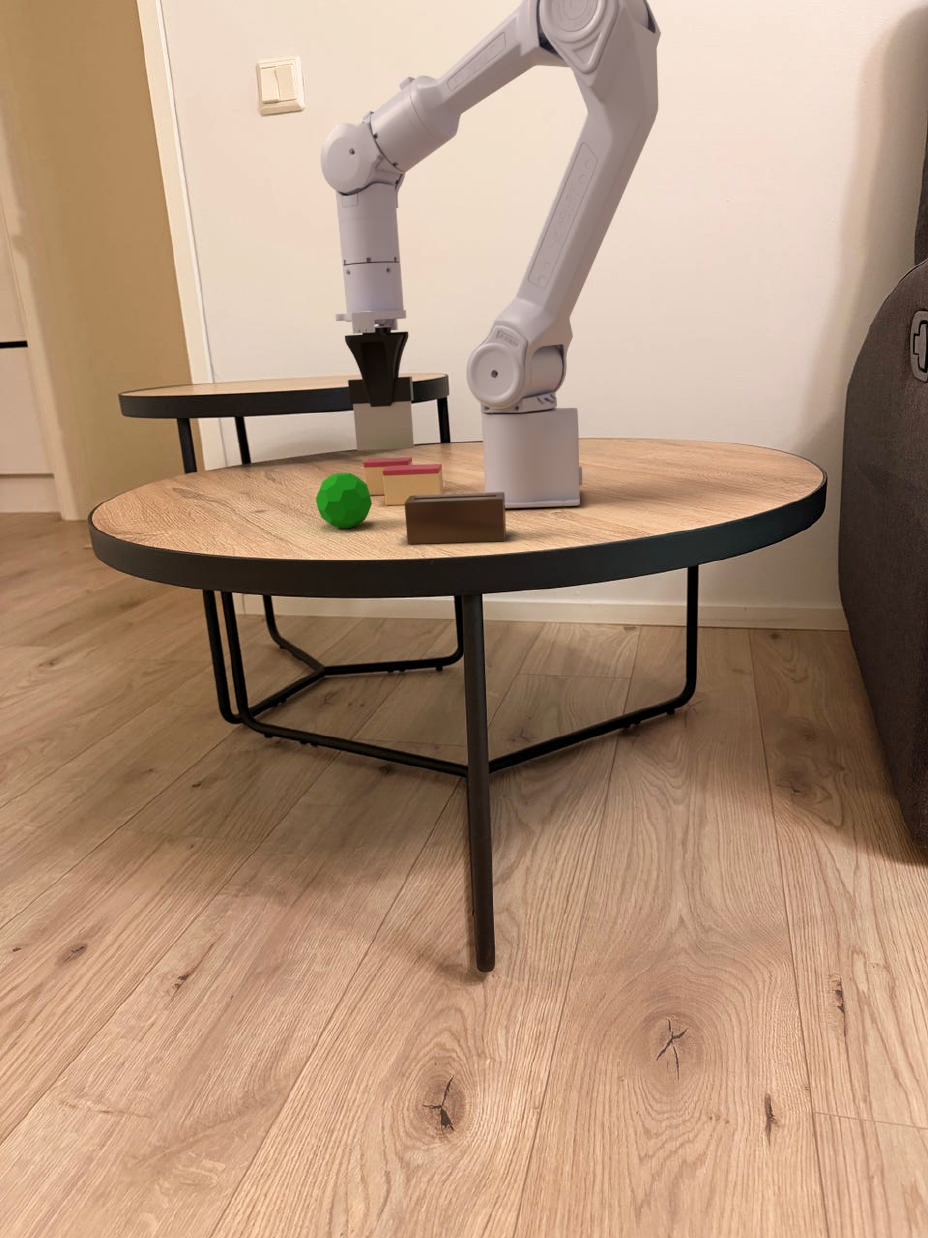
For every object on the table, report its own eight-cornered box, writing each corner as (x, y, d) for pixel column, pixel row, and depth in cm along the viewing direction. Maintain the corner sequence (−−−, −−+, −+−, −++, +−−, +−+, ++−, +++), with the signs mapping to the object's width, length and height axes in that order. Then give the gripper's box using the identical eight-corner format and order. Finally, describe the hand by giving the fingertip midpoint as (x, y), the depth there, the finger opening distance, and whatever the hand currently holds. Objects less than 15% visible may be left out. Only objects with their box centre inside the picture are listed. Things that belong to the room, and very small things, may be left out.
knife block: (506, 532, 78) (504, 491, 77) (504, 541, 75) (502, 498, 74) (412, 535, 78) (409, 495, 77) (407, 544, 76) (404, 502, 75)
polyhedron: (310, 532, 82) (304, 479, 80) (330, 520, 86) (325, 470, 85) (363, 532, 81) (358, 478, 79) (381, 520, 85) (376, 469, 84)
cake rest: (443, 497, 95) (441, 463, 94) (440, 503, 92) (438, 468, 91) (390, 499, 95) (387, 465, 94) (385, 505, 92) (382, 470, 91)
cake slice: (414, 489, 100) (411, 456, 99) (410, 493, 98) (408, 460, 97) (371, 490, 101) (368, 458, 100) (366, 495, 98) (363, 462, 97)
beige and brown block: (416, 446, 97) (412, 376, 95) (414, 448, 95) (409, 376, 93) (357, 449, 97) (351, 379, 95) (353, 451, 96) (347, 380, 94)
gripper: (347, 270, 98) (358, 400, 102) (314, 263, 84) (329, 414, 88) (412, 266, 97) (421, 397, 101) (389, 258, 84) (401, 410, 88)
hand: (383, 405), depth 95 cm, fingers closed on beige and brown block, 1 cm apart
